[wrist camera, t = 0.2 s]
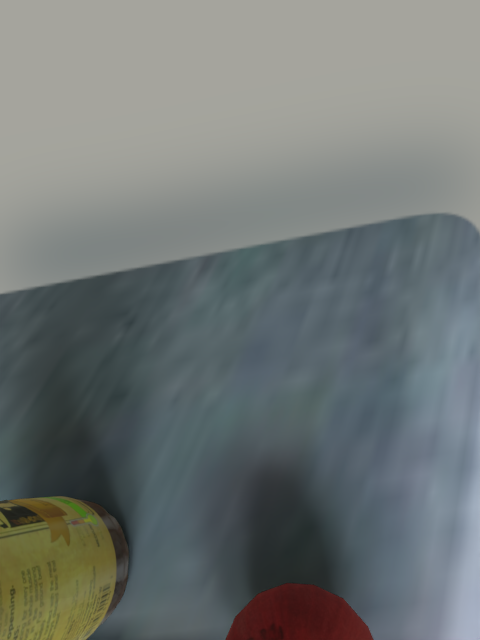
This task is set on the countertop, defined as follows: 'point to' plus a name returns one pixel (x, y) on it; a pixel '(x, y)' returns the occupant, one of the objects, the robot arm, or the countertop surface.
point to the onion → (298, 616)
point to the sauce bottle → (58, 568)
